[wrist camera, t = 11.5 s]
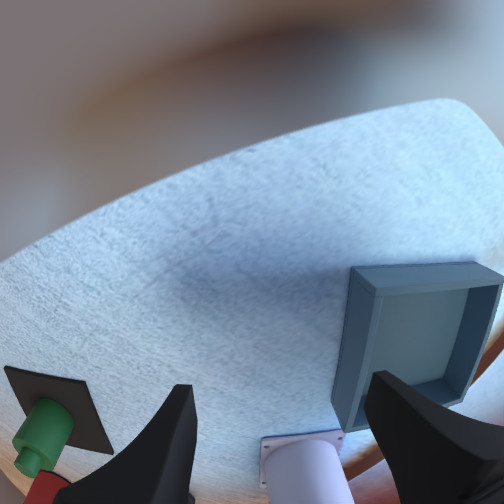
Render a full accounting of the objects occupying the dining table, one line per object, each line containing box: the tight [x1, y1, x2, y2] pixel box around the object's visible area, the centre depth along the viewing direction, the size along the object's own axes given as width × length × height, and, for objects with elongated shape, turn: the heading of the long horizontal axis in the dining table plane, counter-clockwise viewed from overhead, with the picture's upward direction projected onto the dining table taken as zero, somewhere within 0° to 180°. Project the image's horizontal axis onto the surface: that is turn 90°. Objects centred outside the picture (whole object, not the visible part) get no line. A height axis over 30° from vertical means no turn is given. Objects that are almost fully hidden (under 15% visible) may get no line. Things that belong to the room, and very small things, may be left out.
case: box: [331, 262, 504, 433], centre depth 20 cm, size 12×12×4 cm
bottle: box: [12, 398, 74, 478], centre depth 18 cm, size 4×4×8 cm
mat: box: [4, 366, 114, 455], centre depth 22 cm, size 10×10×1 cm
